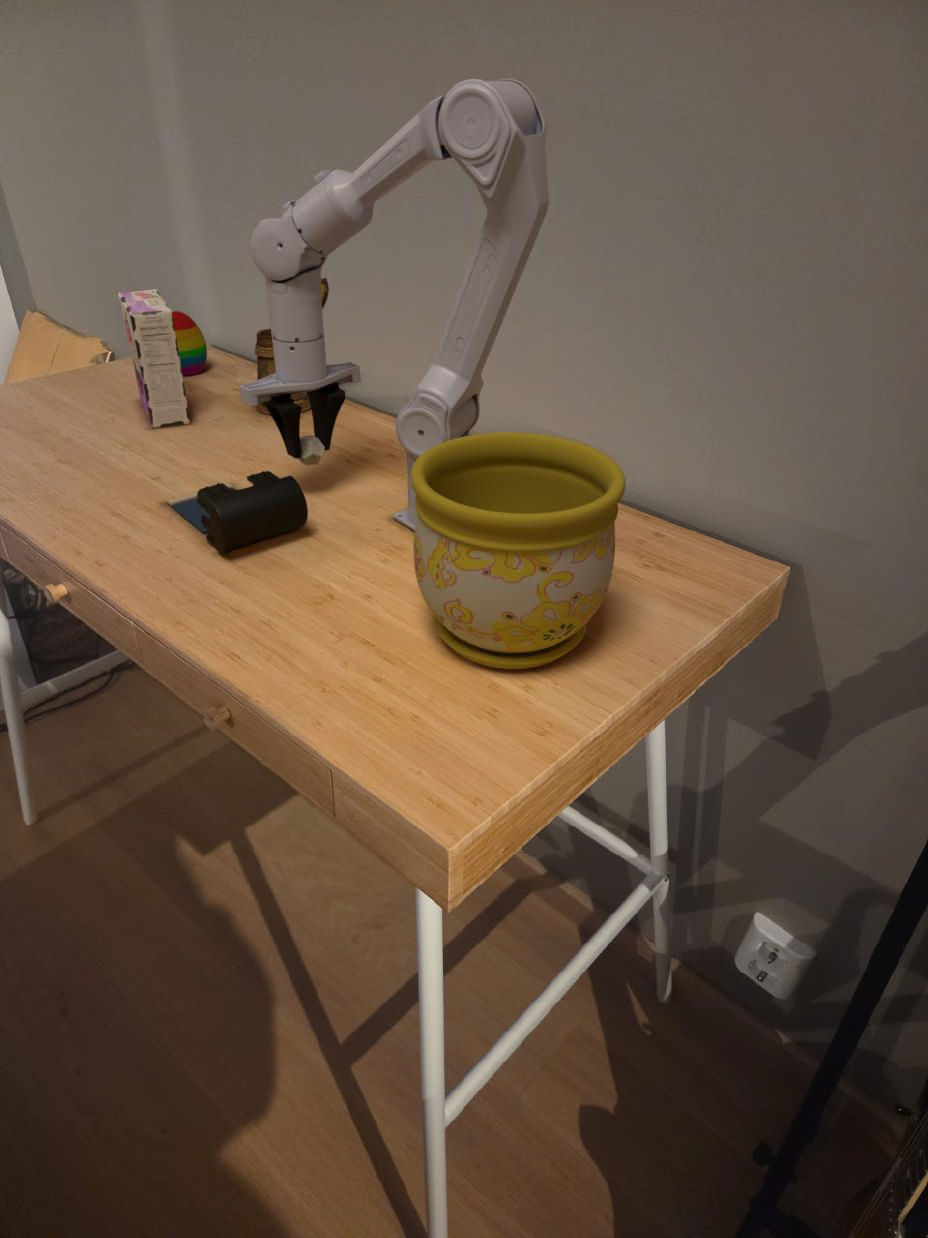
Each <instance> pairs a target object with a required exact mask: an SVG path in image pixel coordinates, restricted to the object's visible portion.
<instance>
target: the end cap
mask: <svg viewBox="0 0 928 1238" xmlns="http://www.w3.org/2000/svg"><path fill="white" fill-rule="evenodd" d="M246 480H247V481H248V482H249V483H251V485H252V486H248V487H244V488H240V489H235V488H233V489H231V488H229V487H227V486H226V485H225V483H223V482H221V483H219V482H218V483H216V484H214V485H209V486H208V485H207V486H205V487H203V488H200V489H198V490H197V491H198V492H197V491H196V492H197V498H198V500H197V503H198V504H199V506H201V507H202V508H203V509H204V510H205V511H207V512H208V513H209V515H210V519H209V518H208V517H206V516H205V515H201V520H200V521H201V522H202V525H203V527H204V528H205V529H206V530H207V531H209V532H210V533H207V534H205V539H206V541H207V543H208V544H209V545H210V546H212V547H213V548H214V549H215V550H216V551H217V552H219V554H221V555H227V554H231V553H233V552H237V551H239V550H240V551H241V550H243V549H246V548H249V547H252V546H255V545H258V544H262V543H264V542H268V541H270V540H274V539H278V538H281V537H283V536H286V535H290V534H292V533H296V532H297V531H299V530H300V529H301V528H302V527H304V526H306V524H307V522H308V518H309V509H308V503H307V499H306V496H305V492H304V491H303V489H302V487H301V485H300V484H299V482H298V481H297V479H296V478H295V477H293V476H292V475H287V476H283V477H279V476H277V475H276V474H275V473H273V472H271V471H270V470H265V471H264V470H262V471H261V472H258V473H255V474H254V473H252V474H250V475H247V476H246Z"/></svg>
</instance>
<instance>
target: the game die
mask: <svg viewBox="0 0 928 1238" xmlns="http://www.w3.org/2000/svg"><path fill="white" fill-rule="evenodd" d="M300 442H301V458H297V459H298V461H299V462H300V463H301V464H303V465H305V467H310V466H316V465H319V463H320V461H321V460H322V457H323V454H324V452H325V450H324V449H325V447H324V446H323V444H322V443H321V442H320V440H319V439H318V438H316V437H315V436H314V434H313V435H312V434H309V435H303V436H300Z"/></svg>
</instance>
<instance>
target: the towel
mask: <svg viewBox="0 0 928 1238" xmlns="http://www.w3.org/2000/svg"><path fill="white" fill-rule="evenodd" d="M224 484H225V485H226V486H227V487H229V488H231V489H234V487H233V485H232V484H231V483H229V482H225V483H224ZM198 491H199V490H197V491H194V492H193V491H192V492H190V493H186V494H182V495H179V496H175V497H171V498H168V499H166V505H168V506H169V507H170V508H171V509H172V510H173V511H175V512H176V513H177V514H178V515H179V516H181V517H182V518H183V519H184V520H186V521H187V522H188V523H189V524H190V525H191V526H192V527H194V528H195V529H196V530H198V531H199V532H200V533H201V534H202V535H207V534H210V532H209V531H207V530H206V529H205V528H204V527H203V525H202V522H201V521H200V520H201V515H205V516H206V517H208V518H209V519H210V515H209V513H208V512H207V511H205V510H204V509H203V508H202V507H201V506H199V504H198V503H197V500H198V498H197V492H198Z"/></svg>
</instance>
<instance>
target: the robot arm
mask: <svg viewBox="0 0 928 1238" xmlns="http://www.w3.org/2000/svg"><path fill="white" fill-rule="evenodd" d="M547 133H548V124H547V121H546V118H545V117H544V114H543V112H542V109H541V108H540V106H539V103H538V101H537V98H536V97H535V95H534V93H533V91H532V90H531V89H530V88H529V87H528V86H527V85H526V84H525V83H523V82H521V81H520V80H519V79H514V78H501V79H497V80H483V79H480V78H469V79H465V80H462V81H460V82H458V83H457V84H455V85H454V86H452V88H451V89H450V90H449V91H448V92H447V93H446V95H440V96H439V97H437V98H435V99H433V100H431V101H429V103H428V104H427V105H425V106H424V107H423V108H422V109H421V110H420V111H418V113H417V114H416V115H415V116H414V117H412V118H411V119H410V120H409V121H408V122H407V123H406V124H405V125H404V126H403V127H401V128H400V129H399V130H398V131H397V132H396V133H395V134H393V136H391V137H390V138H389V139H388V140H387V141H386V142H385V143H383V144H382V145H381V147H379V148H377V149H378V150H376V151H375V152H374V153H373V154H372V155H371V156H370V157H368V158H367V159H366V160H365V161H364V162H363V163H362V164H361V165H359V166H358V167H357V168H356V169H355V170H354V171H353V172H351V171H347V170H344V169H339V168H338V169H334V170H332V171H330V170H329V169H327V170H321V171H320V172H319V173H317V174H316V175H315V176H314V177H313V181H314V183H315V185H314V186H313V187H312V188H310V190H308V191H307V192H306V193H305V194H303V195H302V196H301V197H300V198H298V199H297V200H293V199H292V200H289V201H287V202H286V203H285V204H283V206H282V209H283V213H282V217H278V218H275V217H269V218H264V219H262V220H260V221H259V223H258V224H257V226H256V227H255V229H254V230H253V232H252V235H251V238H250V242H249V243H250V244H249V245H250V248H249V249H250V254H251V257H252V260H253V263H254V265H255V266H256V268H257V269H258V271H259V272H260V273H261V274H262V275H263V276H264V280H265V288H266V299H267V308H268V314H269V315H268V316H269V324H270V328H271V334H272V342H273V351H274V360H275V369H276V373H275V374H273V375H270V376H267V377H265V378H262V379H260V380H257V379H256V380H254V381H252V382H249V383H246V384H241V385H239V389H240V398H241V402H242V403H243V404H244V405H245V406H247V407H249V408H253V407H256V406H257V405H258V403H261V402H262V403H263V405H264V406H265V407H266V409H267V410H268V412H269V413H270V414H269V415H270V417H271V418H272V420H273V422H274V423H275V425H276V427H277V429H278V432H279V434H280V436H281V439H282V441H283V444H284V447H285V450H286V453H287V455H288V456H290V457H292V458H293V459H296V460H297V459H298V458H301V442H300V438H301V433H300V430H301V427H300V425H301V414H302V412H301V409H302V407H301V406H299V405H297V404H295V403H294V399H291V395H296V394H300V393H304V392H307V395H308V398H309V402H310V406H311V408H310V410H311V415H312V421H313V422H312V423H313V436H315V437H316V438H318V439H319V440H320V442H321V443H322V444H323V446H324V447H325V449H324V452H326V451H329V450H331V444H332V437H333V433H334V429H335V424H336V421H337V418H338V416H339V414H340V410H341V408H342V406H343V405H344V403H345V401H346V391H345V390H344V389H342V388H340V385H344V384H348V383H351V384H357V383H361V367H360V365H359V364H356V363H354V362H351V361H348V362H344V363H335V364H327V356H326V353H327V352H326V343H325V330H324V320H323V317H324V316H323V310H322V303H321V290H320V283H321V279H322V268H323V267H324V265H325V263H326V261H327V259H328V256H330V255H331V254H332V253H334V252H335V251H337V249H339V248H340V247H341V246H343V245H344V244H346V242H348V241H349V240H351V239H352V238H353V237H355V236H356V235H357V234H358V233H360V232H361V231H363V230H364V229H365V228H366V227H367V226H369V225H370V224H371V222H372V220H373V216H374V208H375V207H374V206H375V204H376V202H378V201H379V200H380V199H382V198H383V197H384V196H386V195H387V194H389V193H390V192H391V191H393V190H394V189H396V188H397V187H399V186H400V185H402V184H403V183H404V182H406V181H408V180H409V179H410V178H411V177H413V176H414V175H416V174H417V173H418V172H420V171H422V170H423V169H424V168H425V167H427V166H428V165H430V164H431V163H433V162H434V161H443V160H445V161H446V160H450V159H453V160H454V161H455V162H456V163H457V165H458V166H459V167H460V168H461V169H462V171H463V172H464V173H465V174H466V175H467V176H468V177H469V178H470V180H471V181H472V182H473V183H474V185H475V186H476V189H477V190H478V193H479V195H480V198H481V199H482V202H483V204H484V206H485V209H486V211H487V213H486V217H485V219H484V221H483V226H482V228H481V229H480V233H479V236H478V238H477V240H476V241H477V242H476V244H475V247H474V249H473V253H472V255H471V258H470V260H469V263H468V266H467V269H466V272H465V274H464V277H463V279H462V283H461V285H460V288H459V291H458V294H457V297H456V299H455V302H454V305H453V306H452V310H451V313H450V315H449V319H448V321H447V324H446V327H445V329H444V332H443V335H442V337H441V341H440V343H439V346H438V349H437V351H436V354H435V357H434V360H433V362H432V364H431V366H430V368H429V369H428V370H427V372H426V373H425V375H424V377H423V378H422V380H421V381H420V383H419V384H418V386H417V388H416V389H415V392H414V395H413V397H412V399H411V400H410V402H408V403H407V404H406V405H405V406H403V407H402V408H401V410H400V411H399V412H398V414H397V418H396V419H395V434H396V438H397V440H398V442H399V443H400V445H401V447H402V448H403V449H404V451H406V467H407V468H406V471H407V472H406V473H407V477H406V479H407V509H406V508H405V509H403V510H401V511H398V512H394V513H393V517H392V518H393V519H394V520H396V521H397V522H399V523H401V524H403V525H404V526H405V527H407V528H408V529H410V530H412V531H415V523H416V516H417V511H416V508H415V497H416V494H415V492H414V490H413V488H412V485H411V478H410V477H411V470H412V467H413V465H414V463H415V461H416V460H417V459H418V458H419V457H420V456H421V455H422V454H423V453H424V452H426V451H427V450H429V449H430V448H432V447H434V446H436V445H438V444H441V443H443V442H446V441H449V440H452V439H456V438H460V437H464V436H470V434H471V433H470V432H471V431H470V430H472V429H473V428H474V427H475V425H476V424H477V422H478V420H479V417H480V413H481V412H480V411H481V408H480V406H481V405H480V395H481V391H482V388H483V386H484V380H483V377H482V373H483V370H484V369H485V366H486V363H487V361H488V358H489V357H490V354H491V351H492V349H493V347H494V343H495V341H496V338H497V336H498V334H499V331H500V329H501V326H502V324H503V321H504V319H505V317H506V314H507V312H508V309H509V307H510V304H511V302H512V300H513V297H514V295H515V292H516V289H517V288H518V284H519V282H520V280H521V277H522V275H523V273H524V270H525V268H526V265H527V263H528V260H529V257H530V255H531V252H532V250H533V248H534V245H535V244H536V241H537V238H538V236H539V234H540V231H541V229H542V225H543V223H544V221H545V218H546V216H547V214H548V210H549V206H550V205H549V204H550V196H549V183H548V168H547V156H546V139H547Z"/></svg>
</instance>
